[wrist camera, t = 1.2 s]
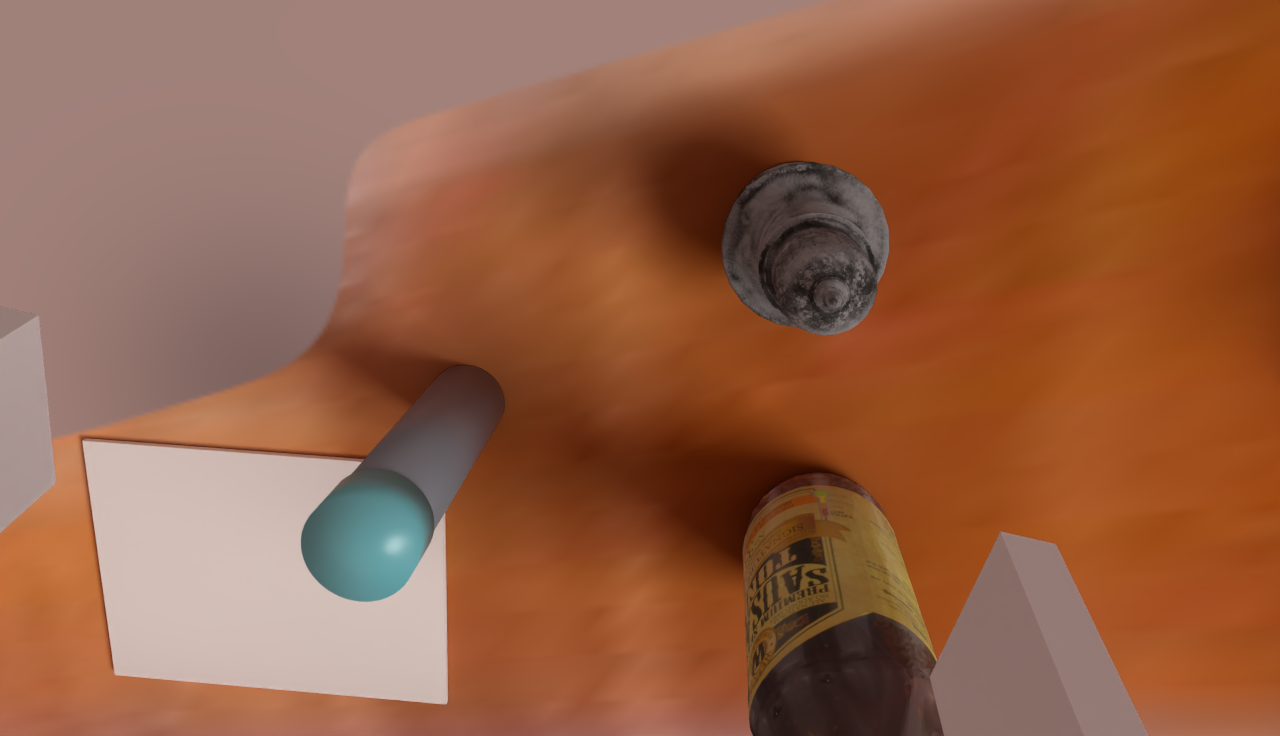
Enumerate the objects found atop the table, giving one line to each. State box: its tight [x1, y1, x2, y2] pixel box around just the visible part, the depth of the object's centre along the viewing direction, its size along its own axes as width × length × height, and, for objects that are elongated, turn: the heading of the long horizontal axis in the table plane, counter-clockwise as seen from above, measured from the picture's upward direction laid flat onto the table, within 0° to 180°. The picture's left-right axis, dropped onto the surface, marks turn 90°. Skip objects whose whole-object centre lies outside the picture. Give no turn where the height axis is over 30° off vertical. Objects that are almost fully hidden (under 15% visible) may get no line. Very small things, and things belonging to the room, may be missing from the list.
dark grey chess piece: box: [721, 162, 889, 335], centre depth 31 cm, size 6×6×12 cm
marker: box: [301, 365, 505, 602], centre depth 34 cm, size 3×3×13 cm
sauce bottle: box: [743, 472, 944, 736], centre depth 31 cm, size 6×6×20 cm
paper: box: [82, 438, 448, 704], centre depth 43 cm, size 12×16×1 cm
